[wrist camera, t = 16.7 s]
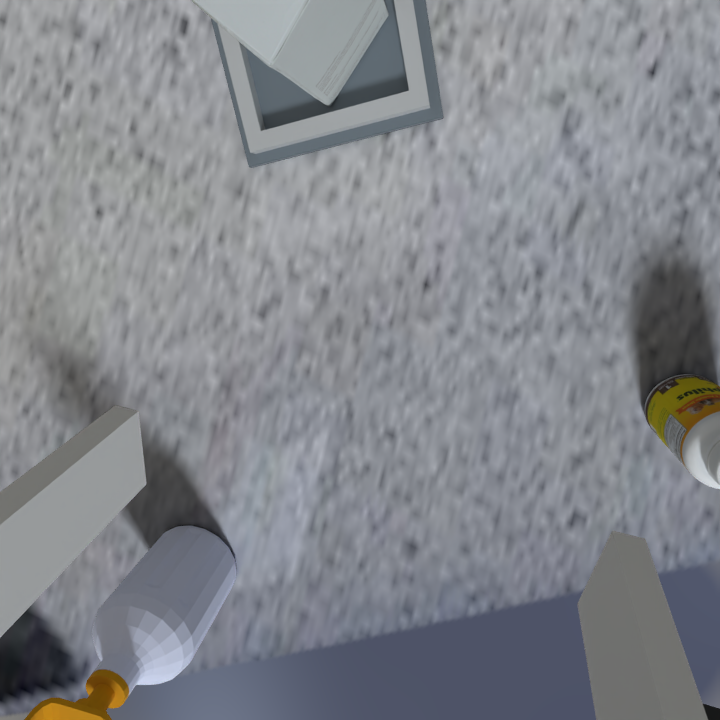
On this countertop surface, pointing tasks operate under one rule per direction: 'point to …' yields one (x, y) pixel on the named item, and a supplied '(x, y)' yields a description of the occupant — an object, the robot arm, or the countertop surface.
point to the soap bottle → (152, 621)
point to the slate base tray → (352, 105)
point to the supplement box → (303, 36)
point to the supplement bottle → (689, 423)
